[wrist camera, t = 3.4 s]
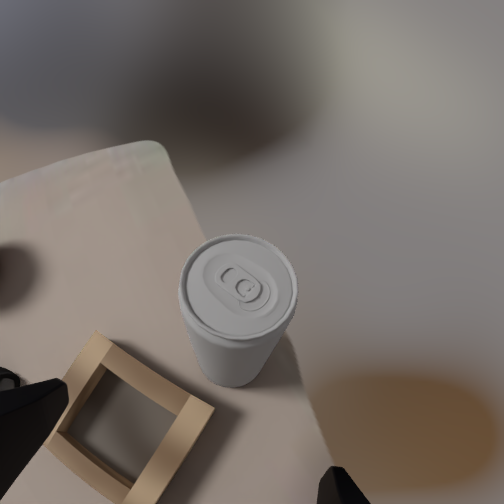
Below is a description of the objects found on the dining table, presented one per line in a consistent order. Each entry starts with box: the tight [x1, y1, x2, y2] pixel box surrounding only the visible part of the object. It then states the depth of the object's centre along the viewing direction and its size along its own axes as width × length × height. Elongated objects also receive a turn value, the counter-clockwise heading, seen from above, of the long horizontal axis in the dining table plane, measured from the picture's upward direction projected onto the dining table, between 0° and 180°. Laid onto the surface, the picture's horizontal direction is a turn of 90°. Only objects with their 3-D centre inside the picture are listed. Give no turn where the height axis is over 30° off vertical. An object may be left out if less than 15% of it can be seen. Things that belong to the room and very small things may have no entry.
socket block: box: [43, 330, 215, 504], centre depth 17 cm, size 10×10×2 cm
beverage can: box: [178, 234, 298, 388], centre depth 17 cm, size 5×5×12 cm
